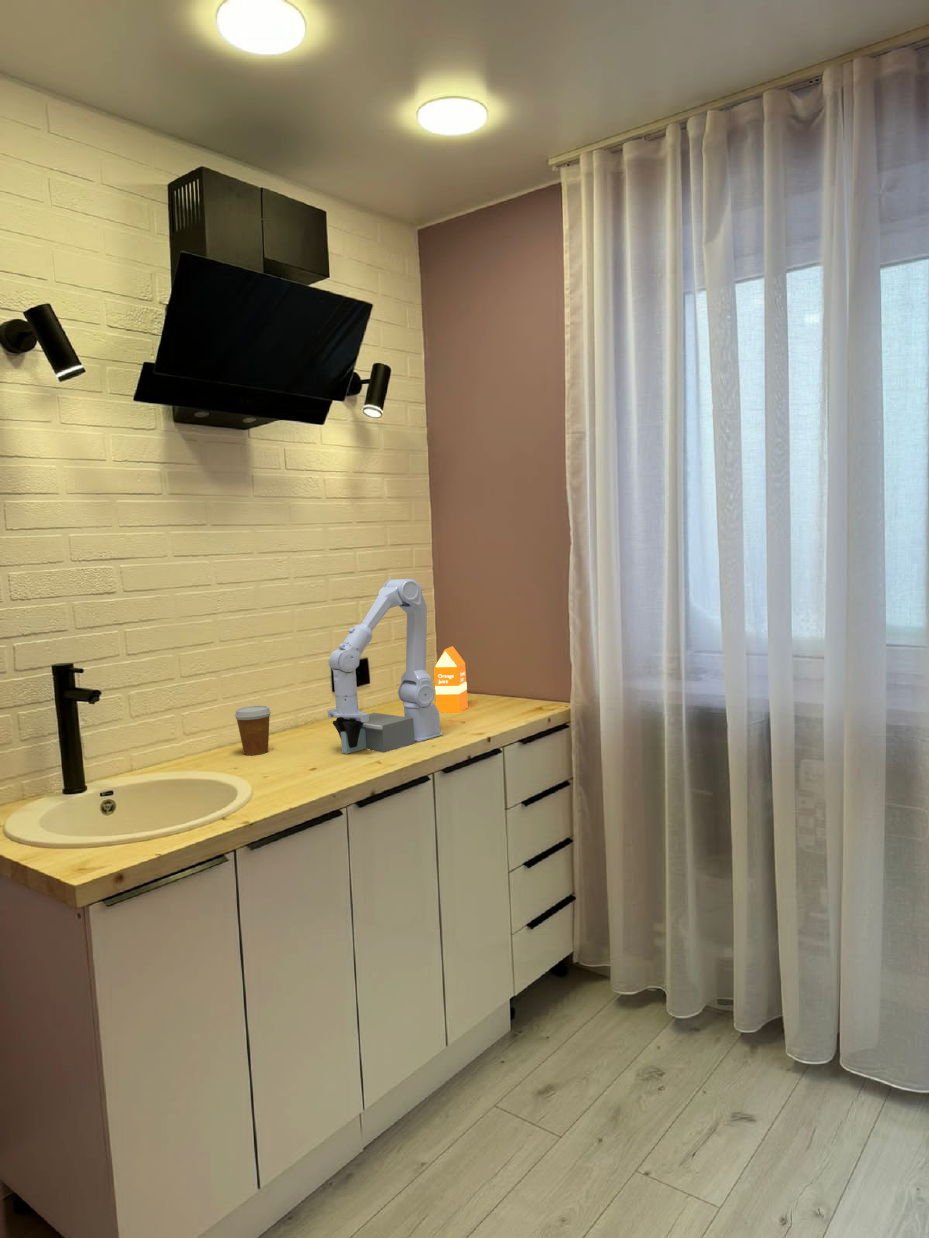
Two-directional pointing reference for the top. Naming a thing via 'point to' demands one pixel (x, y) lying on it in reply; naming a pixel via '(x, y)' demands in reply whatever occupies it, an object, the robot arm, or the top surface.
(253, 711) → the disposable coffee cup
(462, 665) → the orange juice
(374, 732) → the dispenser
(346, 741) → the light blue rectangular block
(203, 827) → the top surface
